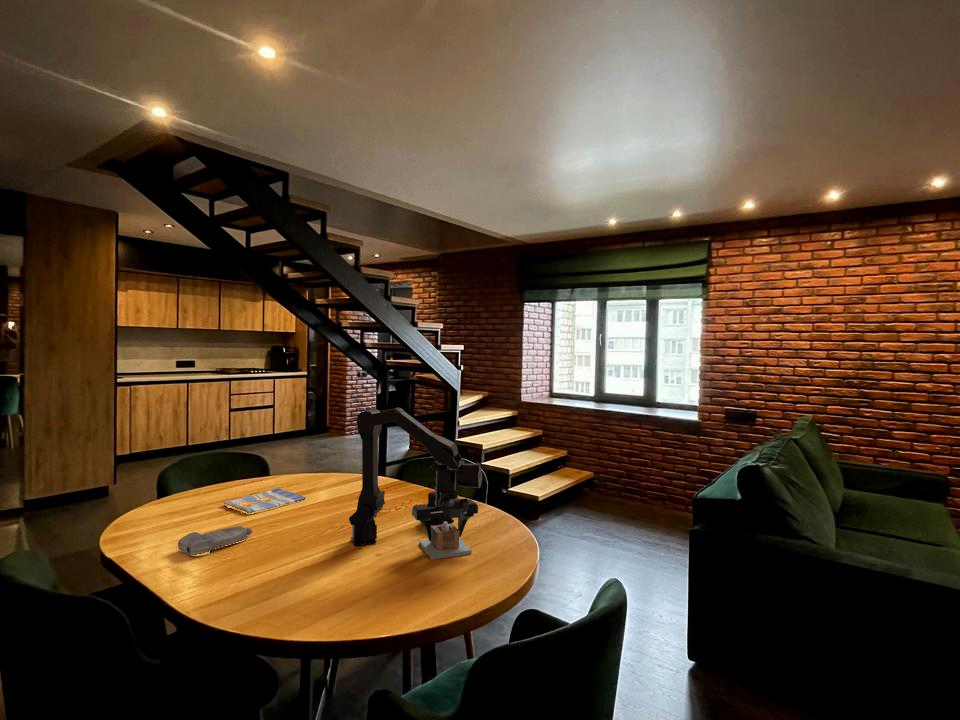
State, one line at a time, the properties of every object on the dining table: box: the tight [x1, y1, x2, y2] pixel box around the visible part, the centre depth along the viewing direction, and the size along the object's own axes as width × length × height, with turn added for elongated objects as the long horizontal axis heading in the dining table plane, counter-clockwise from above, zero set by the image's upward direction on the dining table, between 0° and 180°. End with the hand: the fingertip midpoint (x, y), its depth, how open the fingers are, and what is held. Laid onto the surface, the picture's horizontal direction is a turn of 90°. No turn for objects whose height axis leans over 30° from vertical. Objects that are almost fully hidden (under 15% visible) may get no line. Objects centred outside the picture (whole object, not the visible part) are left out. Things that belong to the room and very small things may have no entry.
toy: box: [426, 490, 455, 526], centre depth 169 cm, size 8×14×10 cm, turn 44°
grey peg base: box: [418, 522, 473, 561], centre depth 149 cm, size 12×12×8 cm
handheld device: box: [177, 525, 253, 556], centre depth 149 cm, size 10×20×5 cm, turn 144°
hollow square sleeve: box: [431, 523, 460, 551], centre depth 149 cm, size 6×6×5 cm
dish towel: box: [223, 487, 306, 513], centre depth 188 cm, size 17×24×3 cm
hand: (444, 538), depth 149 cm, fingers open, 9 cm apart
